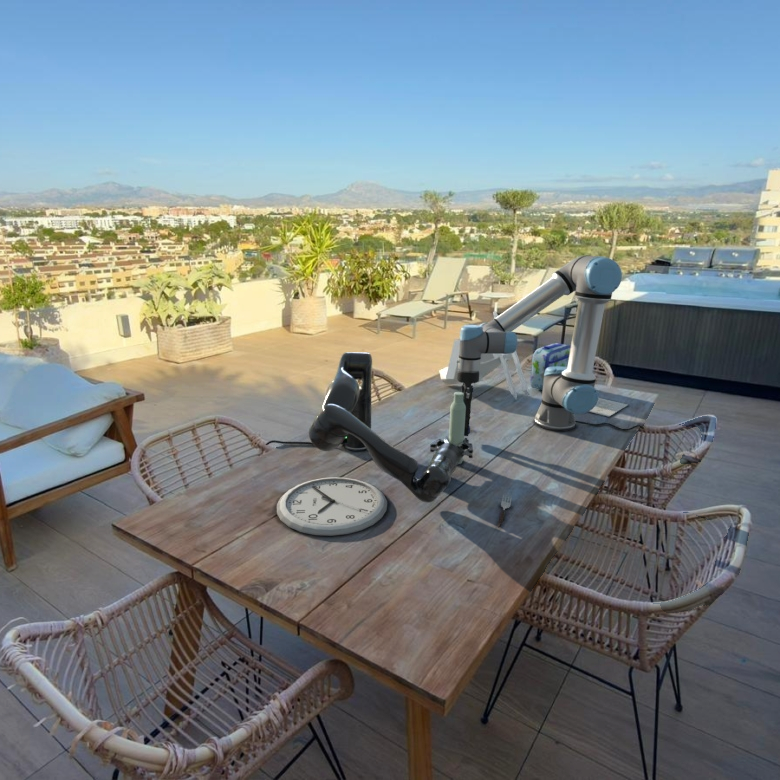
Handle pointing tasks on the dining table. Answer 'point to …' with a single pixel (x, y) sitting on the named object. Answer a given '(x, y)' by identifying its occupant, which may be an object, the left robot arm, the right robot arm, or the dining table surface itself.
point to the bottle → (457, 420)
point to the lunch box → (548, 361)
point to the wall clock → (331, 506)
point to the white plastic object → (485, 367)
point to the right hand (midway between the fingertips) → (464, 432)
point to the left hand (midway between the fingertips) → (457, 439)
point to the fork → (504, 505)
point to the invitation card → (607, 407)
